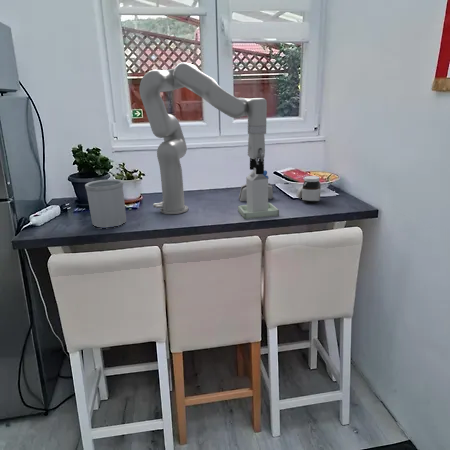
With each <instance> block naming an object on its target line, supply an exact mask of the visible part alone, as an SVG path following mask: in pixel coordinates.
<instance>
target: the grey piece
mask: <svg viewBox="0 0 450 450" xmlns="http://www.w3.org/2000/svg"><path fill="white" fill-rule="evenodd" d="M273 188H274V187H273V186H272V184H271V183H270V182H268V200H270V199H274V195H273V194H274V192H273ZM238 200H239V201H240V202H247V188H246V183H245V184H243V185H241V188H240V192H239V195H238Z"/></svg>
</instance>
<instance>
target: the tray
mask: <svg viewBox="0 0 450 450" xmlns="http://www.w3.org/2000/svg"><path fill="white" fill-rule="evenodd" d="M237 212H238V214H240V215H241V217H242V218H243V219H244V220H250V219H251V220H252V219H259V218H272V217H279V216H280V210H279V209H278V208H277V207H276V206H275V205H273V204H272V202H268V211H259V212H248V211H247V204H244V205H237Z"/></svg>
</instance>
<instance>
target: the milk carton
mask: <svg viewBox="0 0 450 450" xmlns="http://www.w3.org/2000/svg"><path fill="white" fill-rule="evenodd" d="M245 179H246V180H245V181H246V183H245V184H246V188H247V201H246V205H247V211H248V212H259V211H268V203H269V199H268V183H269V179H268V178H266V177H265V176H264V175H263V174H256V168H254V170H251V171H250V173H249V174H248V175H247V176H246V178H245Z"/></svg>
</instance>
